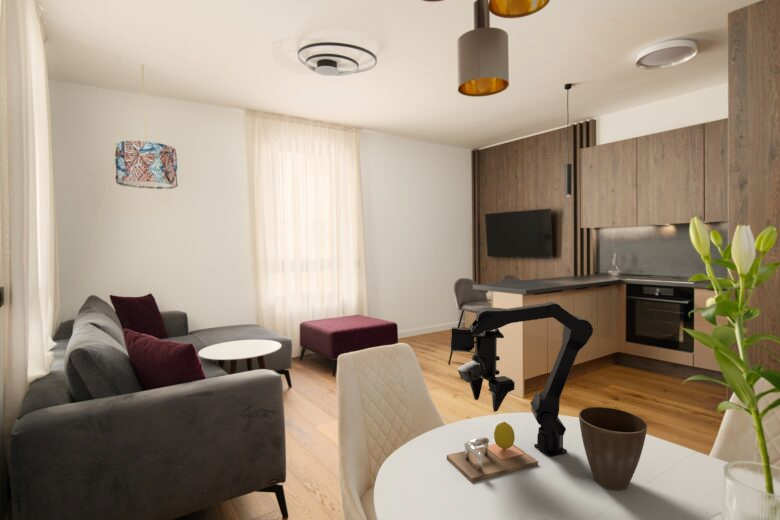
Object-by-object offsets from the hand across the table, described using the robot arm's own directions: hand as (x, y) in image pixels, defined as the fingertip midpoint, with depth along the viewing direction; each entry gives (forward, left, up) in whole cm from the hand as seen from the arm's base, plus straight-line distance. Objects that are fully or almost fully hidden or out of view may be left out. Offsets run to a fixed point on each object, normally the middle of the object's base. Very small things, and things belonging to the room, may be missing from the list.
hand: (485, 405), depth 122 cm
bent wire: (+7, +9, -12) cm, 17 cm away
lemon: (-2, +6, -11) cm, 13 cm away
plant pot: (-18, +27, -12) cm, 35 cm away
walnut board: (+4, +8, -12) cm, 15 cm away
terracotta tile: (-2, +6, -12) cm, 14 cm away
